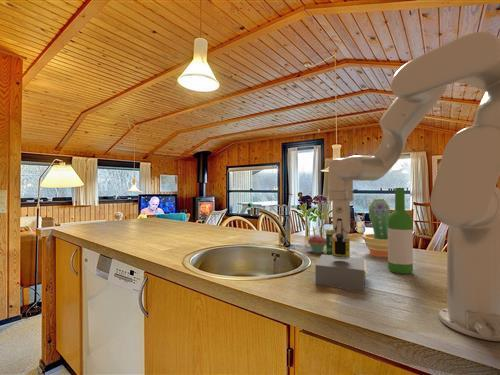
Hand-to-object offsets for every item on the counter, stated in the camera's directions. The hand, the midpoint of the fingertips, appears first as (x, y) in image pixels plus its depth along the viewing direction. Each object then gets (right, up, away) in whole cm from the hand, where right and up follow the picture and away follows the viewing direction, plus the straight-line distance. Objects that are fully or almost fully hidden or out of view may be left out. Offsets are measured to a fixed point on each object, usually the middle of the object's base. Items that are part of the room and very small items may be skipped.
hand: (340, 251), depth 86 cm
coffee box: (+5, -9, +20) cm, 22 cm away
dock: (0, -9, 0) cm, 9 cm away
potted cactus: (+29, -9, +32) cm, 44 cm away
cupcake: (+2, -9, +38) cm, 40 cm away
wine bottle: (+24, -9, +8) cm, 27 cm away
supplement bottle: (0, -2, 0) cm, 2 cm away
